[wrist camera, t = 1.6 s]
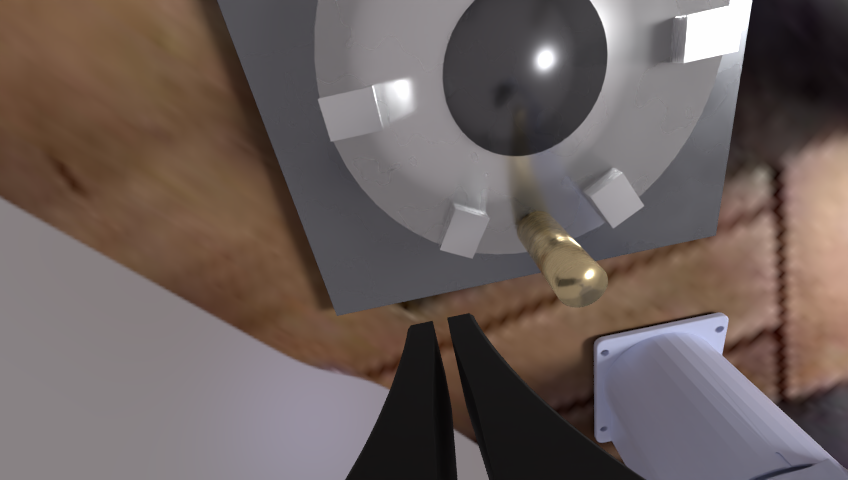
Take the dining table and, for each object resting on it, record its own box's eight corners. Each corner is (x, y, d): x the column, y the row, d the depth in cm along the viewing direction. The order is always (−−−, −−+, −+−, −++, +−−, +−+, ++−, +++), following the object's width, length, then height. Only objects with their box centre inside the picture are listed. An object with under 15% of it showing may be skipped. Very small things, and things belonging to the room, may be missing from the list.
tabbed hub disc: (664, 195, 18) (799, 266, 12) (378, 256, 19) (371, 356, 13) (699, -216, 12) (1006, -484, 6) (269, -114, 12) (152, -270, 6)
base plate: (701, 227, 21) (717, 236, 20) (339, 304, 21) (336, 316, 20) (780, -353, 12) (815, -389, 11) (153, -198, 12) (132, -220, 11)
